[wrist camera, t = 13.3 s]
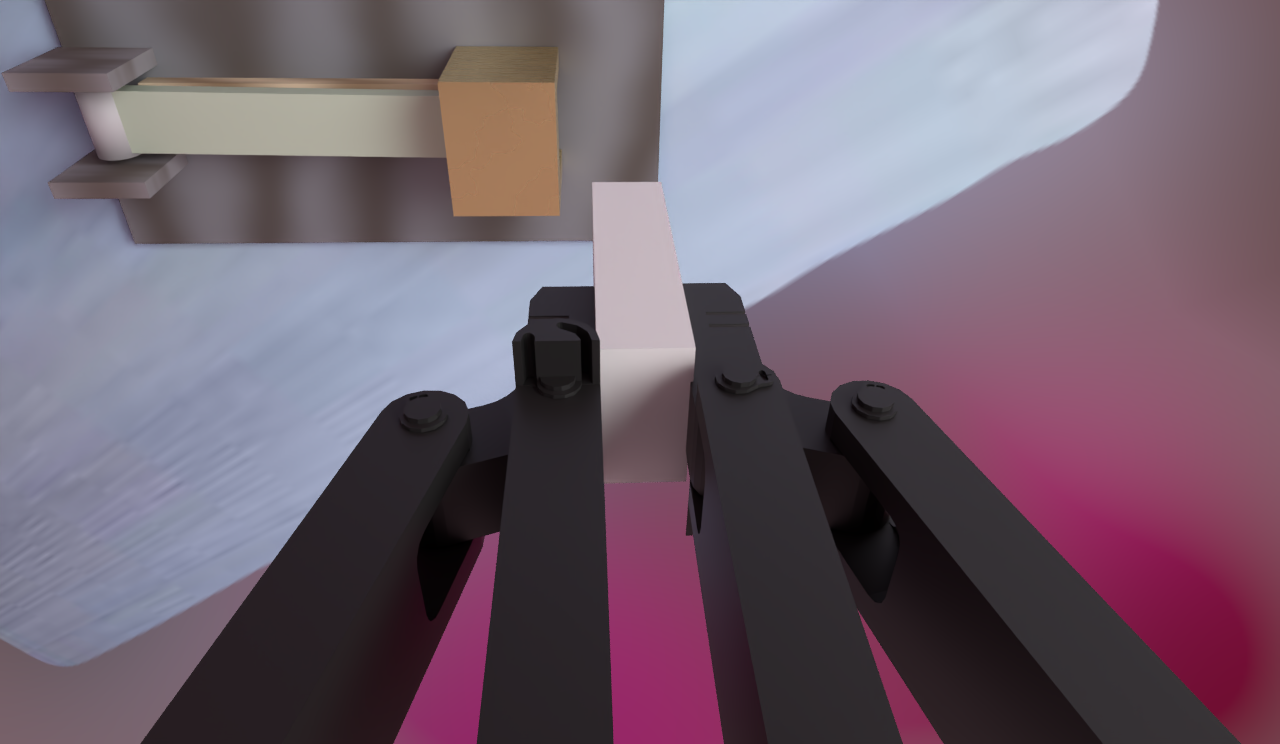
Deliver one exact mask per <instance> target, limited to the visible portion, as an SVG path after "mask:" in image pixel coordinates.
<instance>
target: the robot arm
mask: <svg viewBox="0 0 1280 744" xmlns="http://www.w3.org/2000/svg"><path fill="white" fill-rule="evenodd" d="M592 205H593V276H594V286H581V287H542V288H541V289H540V290H539V291H538V292H537V294H536V295H535V296H534V297H533V298H532V299H531V300H530V307H529V319H528V325H526V326H525V327H523V328H522V329H521V330H519V331H518V332H517V333H516V335H515V337H514V339H513V341H512V346H513V358H514V370H515V382H516V389H515V390H514V391H513V392H511V393H510V394H509V395H507V396H506V397H504V398H502V399H500V400H498V401H496V402H493V403H490V404H487V405H483V406H479V407H475V408H470V409H468V408H467V406H466V403H465V402H464V401H463V400H461V399H460V398H459V397H457V396H456V395H454V394H450V393H447V392H443V391H420V392H416V393H411V394H407V395H405V396H403V397H401V398H398V399H396V400H394V401H392V402H391V403H390V404H389V405H388V406H387V407H386V408H385V409H384V410H382V412H381V413H380V414H379V416H378V417H377V418H376V420H375V421H374V423H373V424H372V425H371V427H370V428H369V429H368V431H367V432H366V434H365V435H364V436H363V438H362V439H361V440H360V442H359V443H358V445H357V446H356V447H355V449H354V450H353V451H352V453H351V454H350V456H349V457H348V458H347V460H346V461H345V463H344V464H343V465H342V467H341V468H340V469H339V471H338V472H337V474H336V475H335V476H334V478H333V479H332V480H331V482H330V483H329V485H328V486H327V487H326V489H325V490H324V491H323V493H322V494H321V496H320V497H319V498H318V500H317V501H316V503H315V504H314V505H313V507H312V508H311V509H310V511H309V512H308V514H307V515H306V516H305V518H304V519H303V520H302V522H301V523H300V525H299V526H298V527H297V529H296V530H295V531H294V533H293V534H292V536H291V537H290V538H289V540H288V541H287V542H286V544H285V545H284V547H283V548H282V549H281V551H280V552H279V554H278V555H277V556H276V558H275V559H274V560H273V562H272V563H271V565H270V566H269V567H268V569H267V570H266V572H265V573H264V574H263V576H262V577H261V578H260V580H259V581H258V583H257V584H256V585H255V587H254V588H253V589H252V591H251V592H250V594H249V595H248V596H247V598H246V599H245V600H244V602H243V603H242V605H241V606H240V607H239V609H238V610H237V611H236V613H235V614H234V616H233V617H232V618H231V620H230V621H229V623H228V624H227V625H226V627H225V628H224V629H223V631H222V632H221V634H220V635H219V636H218V638H217V639H216V640H215V642H214V643H213V645H212V646H211V647H210V649H209V650H208V652H207V653H206V654H205V656H204V657H203V658H202V660H201V661H200V663H199V664H198V665H197V667H196V668H195V669H194V671H193V672H192V673H191V675H190V676H189V678H188V679H187V680H186V682H185V683H184V685H183V686H182V687H181V689H180V690H179V692H178V693H177V694H176V696H175V697H174V699H173V700H172V701H171V702H170V704H169V705H168V707H167V708H166V709H165V711H164V712H163V714H162V715H161V716H160V718H159V719H158V720H157V722H156V723H155V725H154V726H153V727H152V729H151V730H150V731H149V733H148V734H147V736H146V737H145V738H144V740H143V741H142V742H141V744H393V743H394V740H395V739H396V736H397V734H398V732H399V730H400V728H401V725H402V723H403V721H404V719H405V717H406V714H407V712H408V710H409V708H410V705H411V703H412V701H413V699H414V697H415V694H416V692H417V690H418V688H419V686H420V683H421V681H422V679H423V677H424V675H425V672H426V670H427V668H428V666H429V664H430V662H431V659H432V657H433V655H434V653H435V651H436V648H437V646H438V644H439V642H440V639H441V637H442V635H443V633H444V631H445V629H446V626H447V624H448V622H449V620H450V618H451V615H452V613H453V611H454V609H455V607H456V604H457V602H458V600H459V598H460V596H461V593H462V591H463V589H464V587H465V585H466V582H467V580H468V578H469V576H470V573H471V571H472V569H473V567H474V565H475V563H476V560H477V558H478V556H479V554H480V552H481V549H482V547H483V542H484V537H485V535H489V534H492V533H496V532H499V531H500V536H499V545H498V554H497V563H496V572H495V582H494V592H493V601H492V609H491V618H490V627H489V637H488V645H487V654H486V664H485V673H484V682H483V691H482V700H481V709H480V719H479V728H478V737H477V744H613V717H612V690H611V663H610V634H609V609H608V581H607V580H608V579H607V553H606V524H605V497H604V483H640V482H677V481H678V482H680V481H686V475H687V463H688V469H689V475H690V489H689V501H688V516H687V527H686V535H693V537H694V545H695V551H696V558H697V565H698V572H699V578H700V585H701V592H702V599H703V605H704V611H705V619H706V626H707V632H708V638H709V646H710V653H711V659H712V666H713V672H714V679H715V686H716V693H717V699H718V706H719V713H720V719H721V727H722V733H723V740H724V744H903V743H902V740H901V737H900V734H899V731H898V728H897V725H896V722H895V719H894V716H893V713H892V710H891V707H890V704H889V701H888V699H887V696H886V692H885V690H884V687H883V684H882V681H881V678H880V675H879V672H878V669H877V666H876V663H875V660H874V657H873V654H872V651H871V648H870V645H869V642H868V639H867V637H866V633H865V630H864V628H863V625H862V622H861V619H860V616H859V613H858V611H859V612H860V614H861V615H862V617H863V618H864V620H865V621H866V623H867V624H868V626H869V628H870V629H871V631H872V632H873V634H874V635H875V637H876V639H877V640H878V642H879V643H880V645H881V646H882V648H883V649H884V651H885V653H886V654H887V656H888V657H889V659H890V661H891V662H892V664H893V665H894V667H895V668H896V670H897V671H898V673H899V675H900V676H901V678H902V679H903V681H904V682H905V684H906V686H907V687H908V688H909V690H910V692H911V693H912V695H913V696H914V698H915V700H916V701H917V703H918V704H919V706H920V707H921V709H922V711H923V712H924V714H925V715H926V717H927V718H928V720H929V721H930V723H931V724H932V726H933V728H934V729H935V731H936V732H937V734H938V735H939V737H940V739H941V740H942V741H943V743H944V744H1241V743H1240V742H1239V741H1238V740H1237V739H1236V738H1235V737H1234V736H1233V735H1232V734H1231V733H1230V732H1229V731H1228V729H1227V728H1226V727H1225V726H1224V725H1223V724H1222V723H1221V722H1220V721H1219V720H1218V719H1217V718H1216V717H1215V716H1214V715H1213V714H1212V713H1211V712H1210V711H1209V710H1208V709H1207V708H1206V706H1205V705H1204V704H1203V703H1202V702H1201V701H1200V700H1199V699H1198V698H1197V697H1196V696H1195V695H1194V694H1193V693H1192V692H1191V691H1190V690H1189V689H1188V688H1187V687H1186V686H1185V684H1184V683H1183V682H1182V681H1181V680H1180V679H1179V678H1178V677H1177V676H1176V675H1175V674H1174V673H1173V672H1172V671H1171V670H1170V669H1169V668H1168V667H1167V666H1166V665H1165V664H1164V663H1163V661H1162V660H1161V659H1160V658H1159V657H1158V656H1157V655H1156V654H1155V653H1154V652H1153V651H1152V650H1151V649H1150V648H1149V647H1148V646H1147V645H1146V644H1145V643H1144V642H1143V640H1142V639H1140V637H1139V636H1138V635H1137V634H1136V633H1135V632H1134V631H1133V630H1132V629H1131V628H1130V627H1129V626H1128V625H1127V624H1126V623H1125V622H1124V621H1123V619H1122V618H1121V617H1120V616H1119V615H1118V614H1117V613H1116V612H1115V611H1114V610H1113V609H1112V608H1111V607H1110V606H1109V605H1108V604H1107V603H1106V602H1105V601H1104V600H1103V599H1102V597H1101V596H1099V594H1098V593H1097V592H1096V591H1095V590H1094V589H1093V588H1092V587H1091V586H1090V585H1089V584H1088V583H1087V582H1086V581H1085V580H1084V579H1083V578H1082V577H1081V576H1080V574H1079V573H1078V572H1077V571H1076V570H1075V569H1074V568H1073V567H1072V566H1071V565H1070V564H1069V563H1068V562H1067V561H1066V560H1065V559H1064V558H1063V557H1062V556H1061V555H1060V554H1059V552H1058V551H1057V550H1056V549H1055V548H1054V547H1053V546H1052V545H1051V544H1050V543H1049V542H1048V541H1047V540H1046V539H1045V538H1044V537H1043V536H1042V535H1041V534H1040V533H1039V532H1038V531H1037V529H1036V528H1035V527H1034V526H1033V525H1032V524H1031V523H1030V522H1029V521H1028V520H1027V519H1026V518H1025V517H1024V516H1023V515H1022V514H1021V513H1020V512H1019V511H1018V510H1017V508H1015V506H1013V504H1012V503H1011V502H1010V501H1009V500H1008V499H1007V498H1006V497H1005V496H1004V495H1003V494H1002V493H1001V492H1000V491H999V490H998V489H997V488H996V486H995V485H994V484H992V482H991V481H990V480H989V479H988V478H987V477H986V476H985V475H984V474H983V473H982V472H981V471H980V470H979V469H978V468H977V467H976V466H975V464H974V463H972V461H970V459H969V458H968V457H967V456H966V455H965V454H964V453H963V452H962V451H961V450H960V449H959V448H958V447H957V446H956V445H955V444H954V443H953V441H952V440H951V439H950V438H949V437H948V436H947V435H946V434H945V433H944V432H943V431H942V430H941V429H940V428H939V427H938V426H937V425H936V424H935V423H934V422H933V421H932V419H931V418H930V417H929V416H928V415H926V413H925V412H924V411H923V410H922V409H921V408H920V407H919V406H918V405H917V404H916V403H915V402H914V401H913V400H912V399H911V398H910V397H909V396H907V395H906V394H905V393H903V392H902V391H901V390H899V389H896V388H894V387H892V386H889V385H887V384H884V383H879V382H874V381H852V382H849V383H846V384H843V385H840V386H839V387H838V388H837V389H836V390H835V391H833V393H832V396H831V401H825V400H819V399H814V398H809V397H804V396H801V395H797V394H794V393H791V392H789V391H787V390H784V389H783V388H782V385H781V383H780V380H779V379H778V377H777V376H776V374H775V373H774V371H772V370H771V369H769V368H768V367H766V366H764V365H763V364H762V362H761V359H760V356H759V353H758V350H757V347H756V344H755V340H754V337H753V334H752V331H751V328H750V327H749V322H748V319H747V316H746V314H745V309H744V306H743V303H742V300H741V297H740V296H739V295H738V294H737V293H736V292H735V291H734V290H733V289H731V288H730V287H729V286H728V285H727V284H726V283H688V284H682V280H681V275H680V270H679V265H678V261H677V256H676V251H675V246H674V241H673V237H672V232H671V227H670V222H669V218H668V213H667V208H666V203H665V198H664V194H663V189H662V184H661V182H592ZM857 609H858V610H857Z"/></svg>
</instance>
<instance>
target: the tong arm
mask: <svg viewBox="0 0 1280 744" xmlns="http://www.w3.org/2000/svg"><path fill="white" fill-rule="evenodd" d="M74 94H75V97H76V100H77V102H78V105H79V108H80V110H81V113H82V116H83V118H84V121H85V123H86V126H87V129H88V131H89V134H90V137H91V139H92V142H93V145H94V147H95V150H96V153H97V155H98V158H99V159H102V160H107V161H116V160H124V159H129V158H133V157H136V156H138V155H140V154H142V153H147V154H217V155H287V156H357V157H427V158H447V157H446V148H445V140H444V132H443V124H442V115H441V107H440V99H439V90H394V89H332V88H271V87H210V86H149V85H124V86H122V87H121V88H119V89H118V90H116V91H114V92H74Z"/></svg>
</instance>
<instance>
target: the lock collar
mask: <svg viewBox="0 0 1280 744" xmlns="http://www.w3.org/2000/svg"><path fill="white" fill-rule="evenodd" d="M558 72H559V58H558V47H498V46H456V48H455V50H454V51H453V53H452V55H451V57H450V59H449V61H448V63H447V65H446V67H445V69H444V71H443V73H442V74H441V76H440V78H439V80H438V90H439V99H440V107H441V115H442V124H443V132H444V140H445V148H446V157H447V165H448V173H449V182H450V190H451V198H452V206H453V215H454V216H560V203H561V184H562V149H559V133H558V107H557V83H558Z"/></svg>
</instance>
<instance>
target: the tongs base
mask: <svg viewBox="0 0 1280 744" xmlns="http://www.w3.org/2000/svg"><path fill="white" fill-rule="evenodd" d="M45 3H46V5H47V8H48V11H49V13H50V16H51V19H52V21H53V24H54V27H55V29H56V32H57V35H58V37H59V40H60V43H61V45H62V47H57V48H55V49H53V50H50V51H48V52H46V53H44V54H42V55H40V56H37V57H35V58H33V59H31V60H29V61H27V62H24V63H22V64H20V65H18V66H16V67H14V68H12V69H9V70H7V71H5V72H3V73H2V75H3V78H4V80H5V82H6V85H7V87H8V90H9V92H114V91H116V90H118V89H119V88H121V87H122V86H124V85H149V86H210V87H271V88H332V89H394V90H438V80H439V78H440V76H441V74H442V73H443V71H444V69H445V67H446V65H447V63H448V61H449V59H450V57H451V55H452V53H453V51H454V50H455V48H456V46H498V47H558V58H559V72H558V83H557V107H558V133H559V149H562V184H561V203H560V216H454V215H453V206H452V198H451V190H450V182H449V173H448V165H447V158H427V157H357V156H287V155H217V154H147V153H142V154H140V155H138V156H136V157H133V158H129V159H124V160H116V161H107V160H102V159H99V158H98V155H97V153H96V150H93V151H92V152H90V153H89V154H88V155H86V156H85V157H83V158H82V159H81V160H79V161H78V162H76V163H75V164H74V165H72V166H71V167H69V168H68V169H66V170H65V171H64V172H62V173H61V174H59V175H58V176H57V177H55V178H54V179H52V180H51V181H49V182H48V185H49V187H50V189H51V192H52V194H53V196H54V199H119V201H120V204H121V207H122V209H123V212H124V215H125V217H126V220H127V223H128V225H129V228H130V231H131V233H132V236H133V239H134V242H135V244H164V243H308V242H452V241H593V205H592V182H658V163H659V135H660V106H661V78H662V49H663V21H664V0H45Z"/></svg>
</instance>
